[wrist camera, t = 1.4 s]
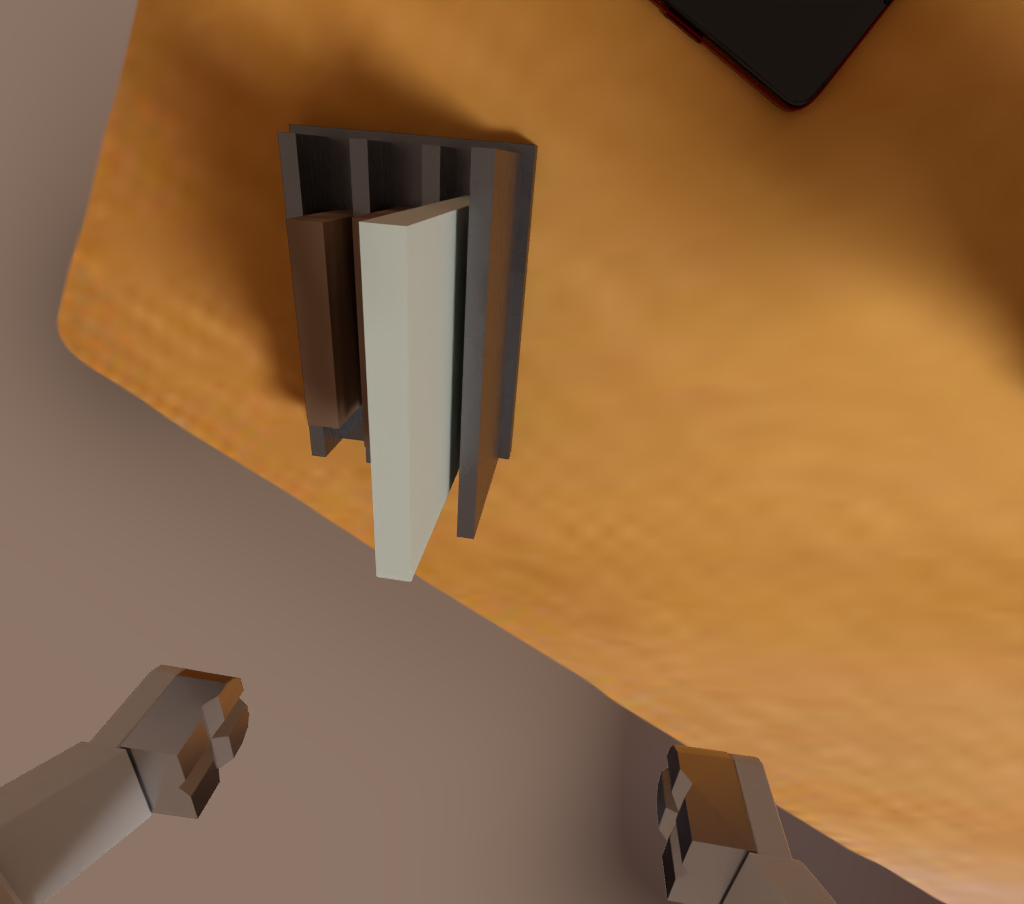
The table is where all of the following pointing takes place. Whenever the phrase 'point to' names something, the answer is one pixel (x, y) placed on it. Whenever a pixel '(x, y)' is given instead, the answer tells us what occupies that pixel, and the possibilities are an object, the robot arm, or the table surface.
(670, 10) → the smartphone
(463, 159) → the rack
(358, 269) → the block
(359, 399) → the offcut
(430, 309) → the white thin panel
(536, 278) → the table surface
